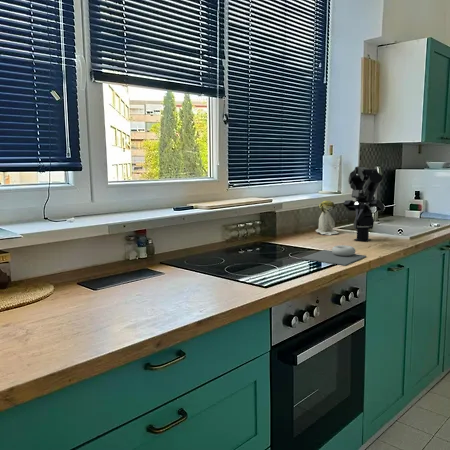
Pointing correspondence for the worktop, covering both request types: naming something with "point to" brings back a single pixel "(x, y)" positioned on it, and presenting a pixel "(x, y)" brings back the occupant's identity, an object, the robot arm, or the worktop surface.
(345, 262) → the mat
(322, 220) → the white figurine
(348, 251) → the donut
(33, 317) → the worktop surface
